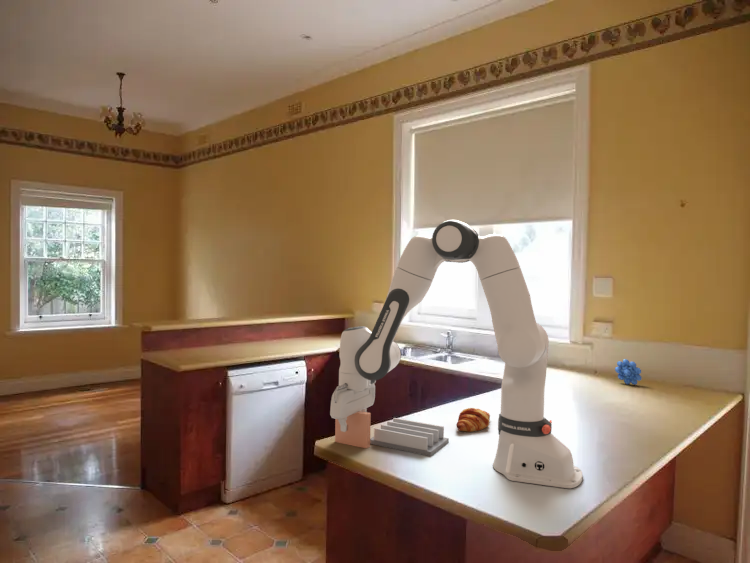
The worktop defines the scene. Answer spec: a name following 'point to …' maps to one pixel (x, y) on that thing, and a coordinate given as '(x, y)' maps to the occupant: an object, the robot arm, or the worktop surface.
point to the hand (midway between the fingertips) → (352, 426)
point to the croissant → (473, 420)
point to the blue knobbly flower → (628, 372)
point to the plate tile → (355, 430)
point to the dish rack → (410, 436)
